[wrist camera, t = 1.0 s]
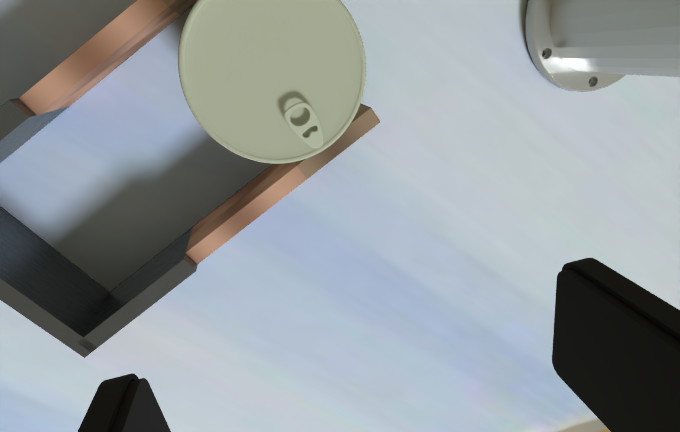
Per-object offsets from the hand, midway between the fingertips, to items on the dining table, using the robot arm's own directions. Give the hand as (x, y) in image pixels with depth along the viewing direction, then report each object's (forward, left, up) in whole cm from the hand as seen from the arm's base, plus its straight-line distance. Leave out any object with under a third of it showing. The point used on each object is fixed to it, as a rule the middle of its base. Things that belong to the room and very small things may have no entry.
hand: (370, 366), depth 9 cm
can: (-3, -5, -26) cm, 27 cm away
